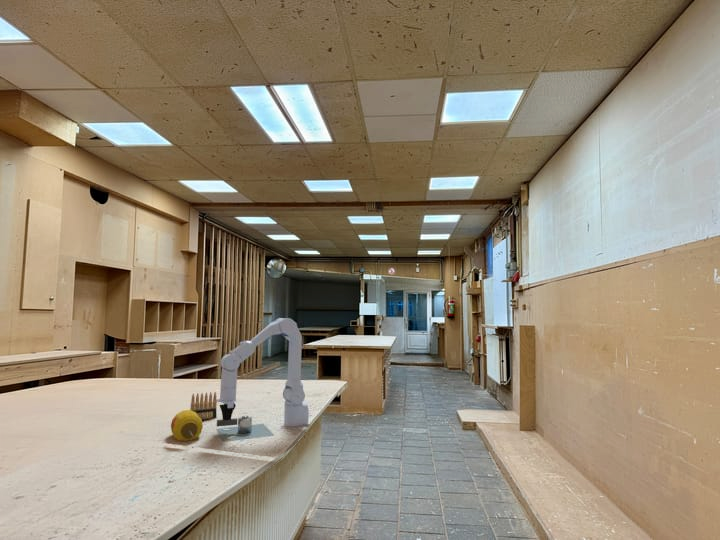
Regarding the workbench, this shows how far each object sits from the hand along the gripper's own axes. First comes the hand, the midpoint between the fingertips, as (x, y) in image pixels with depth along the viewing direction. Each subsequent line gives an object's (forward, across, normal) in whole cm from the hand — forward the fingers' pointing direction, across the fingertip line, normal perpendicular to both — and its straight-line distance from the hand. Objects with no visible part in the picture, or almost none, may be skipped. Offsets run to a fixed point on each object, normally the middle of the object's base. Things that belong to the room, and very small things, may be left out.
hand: (226, 424), depth 151 cm
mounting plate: (+4, +2, +6) cm, 8 cm away
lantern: (+5, -1, -14) cm, 14 cm away
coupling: (+3, +2, +3) cm, 4 cm away
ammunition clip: (+5, -26, -6) cm, 27 cm away
